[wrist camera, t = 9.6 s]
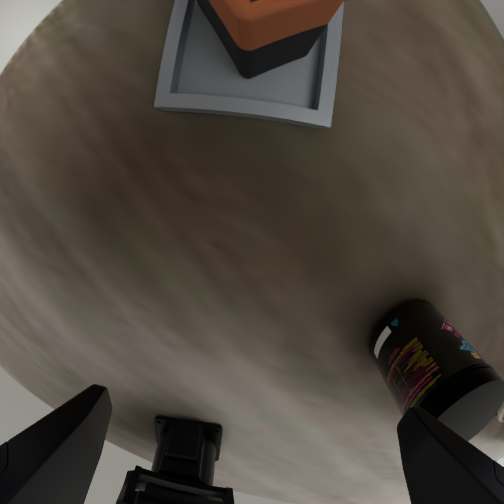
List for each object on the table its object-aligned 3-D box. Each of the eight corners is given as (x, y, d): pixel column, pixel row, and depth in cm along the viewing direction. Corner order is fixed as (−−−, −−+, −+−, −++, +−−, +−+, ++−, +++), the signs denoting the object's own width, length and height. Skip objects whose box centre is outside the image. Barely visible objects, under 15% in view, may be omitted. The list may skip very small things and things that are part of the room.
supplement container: (420, 364, 23) (471, 445, 13) (356, 366, 23) (398, 465, 13) (448, 299, 21) (523, 372, 11) (382, 294, 21) (453, 388, 11)
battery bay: (321, 129, 17) (330, 127, 15) (164, 111, 17) (153, 106, 15) (337, -29, 13) (345, -44, 11) (198, -46, 13) (194, -62, 10)
